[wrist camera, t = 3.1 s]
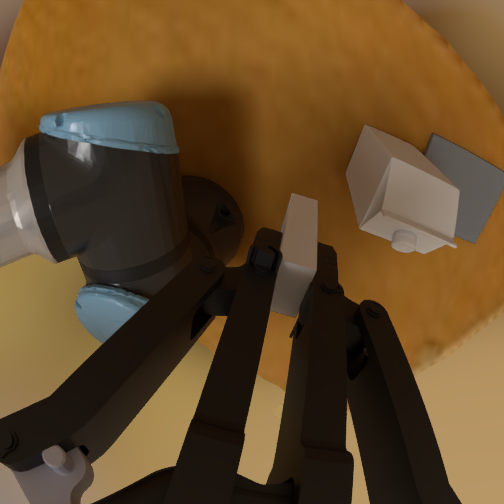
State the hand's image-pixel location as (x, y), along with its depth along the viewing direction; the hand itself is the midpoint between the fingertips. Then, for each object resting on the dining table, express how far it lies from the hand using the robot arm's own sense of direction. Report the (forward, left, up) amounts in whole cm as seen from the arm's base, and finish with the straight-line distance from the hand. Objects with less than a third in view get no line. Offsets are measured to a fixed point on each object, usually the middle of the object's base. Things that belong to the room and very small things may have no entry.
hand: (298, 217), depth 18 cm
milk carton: (+10, 0, -23) cm, 25 cm away
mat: (+22, 0, -23) cm, 32 cm away
